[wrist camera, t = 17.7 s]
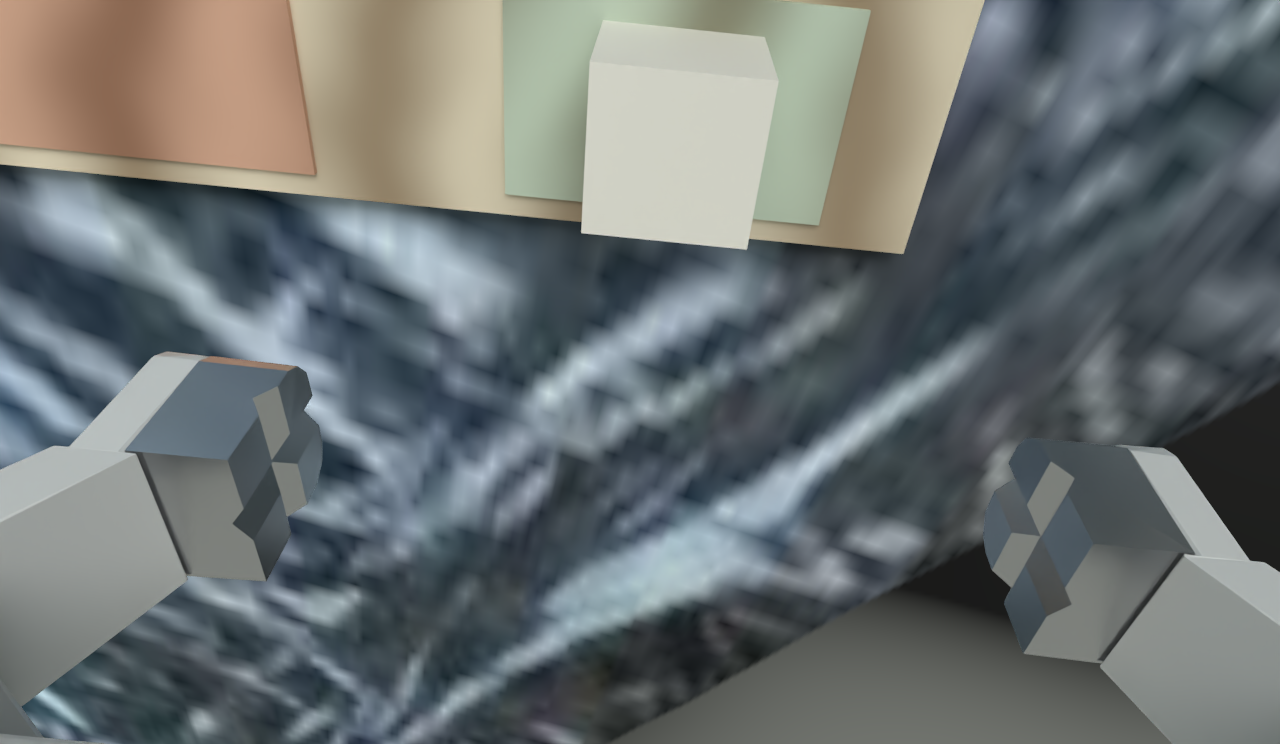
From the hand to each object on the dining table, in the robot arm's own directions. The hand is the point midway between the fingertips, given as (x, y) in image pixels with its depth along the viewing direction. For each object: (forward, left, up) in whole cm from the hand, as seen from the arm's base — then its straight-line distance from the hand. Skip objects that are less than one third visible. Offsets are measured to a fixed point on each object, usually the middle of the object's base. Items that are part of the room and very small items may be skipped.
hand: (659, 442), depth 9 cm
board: (+8, +2, -18) cm, 19 cm away
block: (0, +2, -17) cm, 17 cm away
